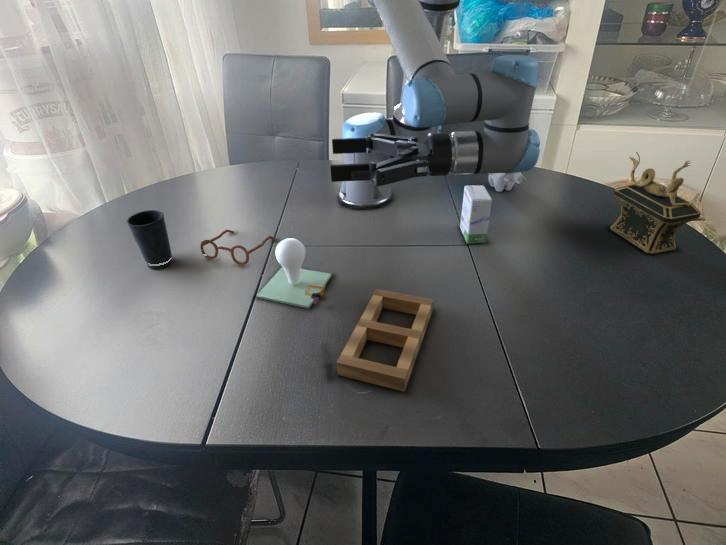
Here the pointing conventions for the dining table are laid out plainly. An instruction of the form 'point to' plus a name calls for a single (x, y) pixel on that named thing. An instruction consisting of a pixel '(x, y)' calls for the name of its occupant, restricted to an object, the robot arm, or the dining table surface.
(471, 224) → the ink box
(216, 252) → the glasses
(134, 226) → the cup
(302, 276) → the mat
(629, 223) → the decorative box
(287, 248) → the lightbulb
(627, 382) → the dining table surface
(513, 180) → the elephant figurine
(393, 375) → the holder
